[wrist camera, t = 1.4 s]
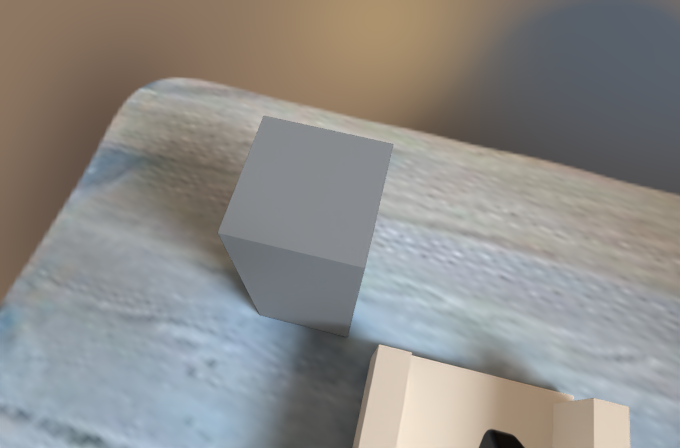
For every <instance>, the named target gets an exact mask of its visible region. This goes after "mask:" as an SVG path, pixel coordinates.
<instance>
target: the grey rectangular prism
mask: <svg viewBox="0 0 680 448" xmlns="http://www.w3.org/2000/svg"><path fill="white" fill-rule="evenodd" d="M392 148H393V144H391V143H386V142H382V141H377V140H373V139H368V138H364V137H359V136H355V135H350V134H345V133H341V132H336V131H332V130H327V129H323V128H318V127H314V126H309V125H304V124H300V123H295V122H291V121H286V120H282V119H277V118H272V117H268V116H263V119H262V121H261V124H260V126H259V129H258V131H257V134H256V136H255V139H254V141H253V144H252V147H251V149H250V152H249V154H248V157H247V159H246V162H245V164H244V167H243V169H242V172H241V175H240V177H239V180H238V182H237V185H236V187H235V190H234V192H233V195H232V197H231V200H230V203H229V205H228V208H227V210H226V213H225V215H224V218H223V220H222V223H221V225H220V228H219V231H218V235H219V237H220V238H221V240H222V242H223V244H224V246H225V248H226V250H227V252H228V254H229V256H230V258H231V260H232V262H233V264H234V266H235V268H236V270H237V272H238V273H239V275H240V277H241V279H242V281H243V283H244V285H245V287H246V289H247V291H248V293H249V295H250V297H251V299H252V301H253V303H254V305H255V307H256V309H257V310H258V312H259V314H260V315H261V316H265V317H269V318H273V319H277V320H281V321H285V322H289V323H293V324H297V325H301V326H305V327H309V328H313V329H317V330H321V331H325V332H329V333H333V334H337V335H341V336H345V337H348V333H349V329H350V325H351V321H352V317H353V313H354V309H355V305H356V301H357V297H358V293H359V289H360V286H361V282H362V278H363V274H364V270H365V266H366V261H367V257H368V253H369V248H370V244H371V240H372V235H373V231H374V227H375V222H376V218H377V214H378V209H379V205H380V200H381V196H382V192H383V187H384V183H385V179H386V174H387V170H388V166H389V161H390V157H391V153H392Z"/></svg>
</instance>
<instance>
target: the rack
mask: <svg viewBox="0 0 680 448" xmlns="http://www.w3.org/2000/svg"><path fill="white" fill-rule="evenodd" d="M489 429H495V430H499V431H502V432H506V433H510V434H512V435H514V436H515V437H516V438H517V439H518V440H519V441H520V442H521V444H522V445H523V446H524V447H525V448H630V422H629V407H627V406H623V405H619V404H615V403H611V402H607V401H603V400H599V399H595V398H591V399H584V400H577V401H574V396H572V395H568V394H564V393H560V392H556V391H552V390H548V389H544V388H540V387H536V386H532V385H528V384H524V383H520V382H516V381H512V380H508V379H504V378H500V377H496V376H492V375H488V374H484V373H480V372H476V371H472V370H468V369H464V368H460V367H456V366H452V365H448V364H445V363H441V362H437V361H433V360H429V359H425V358H421V357H417V356H413V355H412V352H408V351H404V350H400V349H396V348H392V347H388V346H384V345H380V344H379V345H378V347H377V349H376V350H375V352H374V354H373V355H372V357H371V360H370V365H369V370H368V375H367V380H366V384H365V389H364V394H363V399H362V404H361V409H360V414H359V419H358V423H357V428H356V433H355V438H354V443H353V448H479V446H480V443H481V441H482V438H483V436H484V434H485V432H486V431H487V430H489Z"/></svg>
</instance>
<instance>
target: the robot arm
mask: <svg viewBox="0 0 680 448" xmlns="http://www.w3.org/2000/svg"><path fill="white" fill-rule="evenodd" d="M479 448H525V447H524V446H523V445H522V444H521V442H520V441H519V440H518V439H517V438H516V437H515V436H514V435H512V434H510V433H506V432H502V431H499V430H495V429H489V430H487V431H486V432H485V434H484V436H483V438H482V441H481V443H480V446H479Z"/></svg>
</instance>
